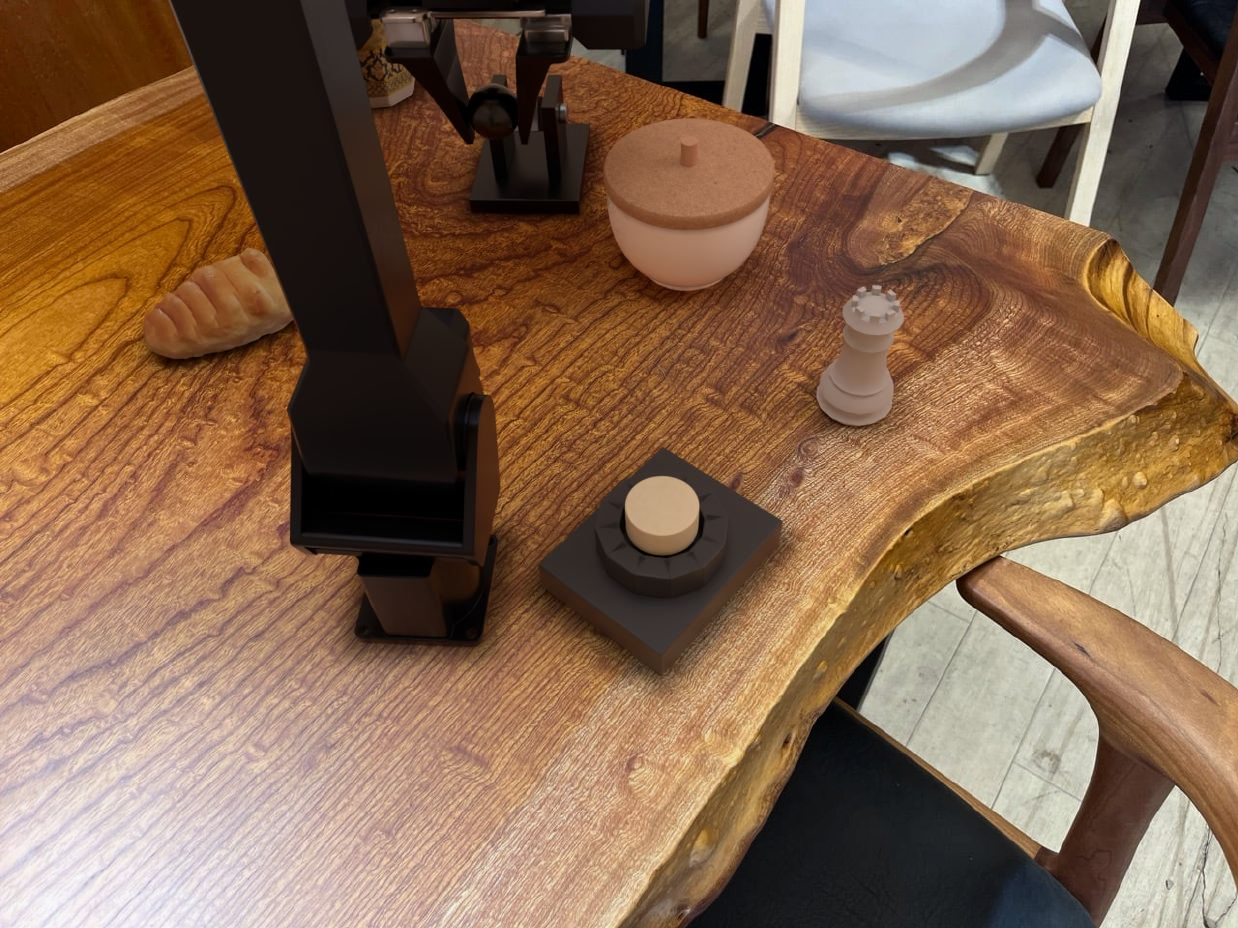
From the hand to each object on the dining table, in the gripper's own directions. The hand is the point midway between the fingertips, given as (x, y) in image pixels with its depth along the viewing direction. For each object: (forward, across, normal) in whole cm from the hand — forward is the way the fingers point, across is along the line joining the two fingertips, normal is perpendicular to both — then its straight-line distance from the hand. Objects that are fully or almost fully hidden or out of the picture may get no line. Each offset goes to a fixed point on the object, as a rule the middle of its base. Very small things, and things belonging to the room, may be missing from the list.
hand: (498, 141), depth 60 cm
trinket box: (+10, -12, 0) cm, 15 cm away
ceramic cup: (+9, +16, -23) cm, 30 cm away
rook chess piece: (+10, -22, +13) cm, 27 cm away
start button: (+6, -11, +25) cm, 28 cm away
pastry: (+10, +18, +7) cm, 21 cm away
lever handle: (+2, 0, -4) cm, 5 cm away
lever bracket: (+9, 0, -10) cm, 14 cm away
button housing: (+10, -11, +25) cm, 29 cm away
